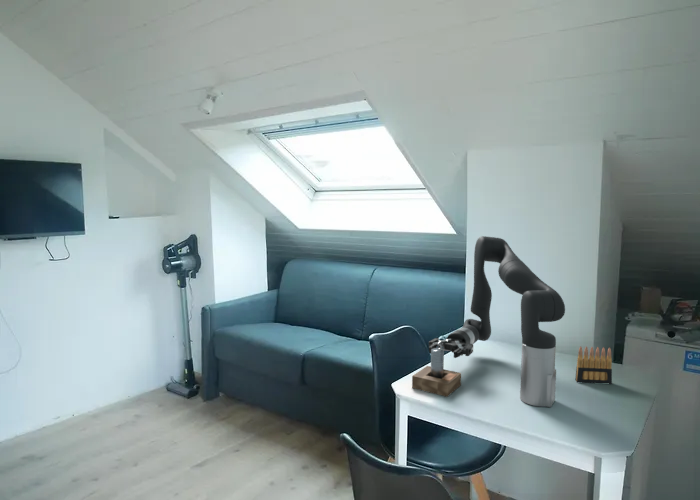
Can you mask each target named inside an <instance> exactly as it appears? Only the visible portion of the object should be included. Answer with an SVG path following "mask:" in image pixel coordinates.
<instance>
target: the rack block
mask: <svg viewBox="0 0 700 500" xmlns="http://www.w3.org/2000/svg"><path fill="white" fill-rule="evenodd" d="M411 376H412V380H411V382H412V384H411V386H412V387H411V389H414V388H415V390H418V389H419V391H422V390H423V391H424V392H426V391H427V392H426V393H431V394H434V395H439V396H443V397H447V398H448V397H450V395H451V394H453V392H455V391H456V390H457V389H459V387H461V386H462V372H458V371H454V370H449V369H444V370H443V378H442V379H439V378H435V377H431V365H430V366H429V365H426V366H425V367H423V368H421V369H420V370H419V371H417V372H416V373H415V374H412V375H411ZM423 391H422V392H423Z"/></svg>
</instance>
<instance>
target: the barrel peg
mask: <svg viewBox="0 0 700 500" xmlns="http://www.w3.org/2000/svg"><path fill="white" fill-rule="evenodd" d="M444 355H445V351H444V350H443V349H439V348H438V347H436V348H434V349H431V353H430V366H431V377H435V378H439V379H442V378H443V370H444V365H445V364H444V363H445V362H444V359H445V356H444Z"/></svg>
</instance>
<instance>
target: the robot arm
mask: <svg viewBox="0 0 700 500" xmlns="http://www.w3.org/2000/svg"><path fill="white" fill-rule="evenodd" d="M473 254H474V255H473V257H474V258H473V291H472V297H471V304H470V305H471V306H470V312H471V313H472V314H473V315H475V316H476V317H478V318H479V319H480V320H479V319H478V320H477V319H473V318H467V319H466V320H465V321H463V322H464V323H463V325H462V327H461V328H458V329H456V330H454V331H453V332H450V334H448V335H447V337H446V339H442V340H440V338H439V337H435V338H433V339H431V340H429V341H428V352H429V354H431V349H434V348H439V349H443V350H444V352H445V351H447V352H451V353H453V359H456V358H459V357H461V356H464V355H465V357H469V356H471V354H473V353H474V344H475V343H476V342H477V341H478V340H479V341H482V342H486V341H488V340H489V339H490V337H491V335H492V325H491V318H490V317H491V316H490V309H491V303H492V299H493V295H492V294H493V293H492V288H491V286H490V283H489V281H488V279H487V276H486V273H485V262H491V263H498V264H499V267H498V270H497V271H498V276H499V278H500V280H501V281H502V282H503V284H504V285H505V286H506V287H507V288H509V289H510V290H511V291H513V292H515V293H517V294H519V295H521V299H520V322H521V323H520V330H521V331H520V333H521V337H522V338H521V358H520V359H521V361H520V363H521V364H520V365H521V366H520V391H519V394H520V395H519V398H520V401H522V402H524V403H525V404H528V405H530V406H534V407H547V408H552V406H553V404H554V402H555V401H556V385H557V369H556V368H555V366H556V350H557V349H556V347H557V346H556V344H557V339H556V336H555V335H554V334H552V333H550V332H548V331H545V330H541V329H540V327H539V325H540V323H550V322H551V323H552V322H556V321H557V322H558V321H560V320H561V319H562V318H563V317H564V316H565V313H566V305H565V301H564V300H563V298H562V296H561V295H560V293H559V292H557V290H555V289H554V288H553V287H551V286H550V285H548V284H547V283H545V281H543V280H542V279H541V278H540V277H538V276H537V274H536V273H534V272H533V271H532V270H531V269H530V267H528V265H526V263H524V262H523V260H521V259H520V258H519V256H517V255H516V253H515V252H514V250H512V248H511V247H510V245H509V244H508V242H507V241H506V240H505V239H503V238H501V237H496V236H494V237H493V236H483V235H481V236H479V237H478V238H477V239H476V242H475V246H474V253H473Z"/></svg>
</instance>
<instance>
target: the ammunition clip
mask: <svg viewBox="0 0 700 500" xmlns="http://www.w3.org/2000/svg"><path fill="white" fill-rule="evenodd" d="M600 352H601V354H600ZM577 356H578V357H577V360H576V361H577V362H576V369H575V380H574V381H575V382H576V383H578V382H582V383H581V384H595V383H609V384H608V385H613V369H612V366H613V365H612V361H613V360H612V349H611V347H608V349H607V354H606V349H605V347H604V346H603V347H602V349H601V351H600V348H599V347H598V346H597V347H596V350H595V352H594V347H593V346H591V347H590V351H589V349H588V346H585V348H584V352H583V347H582V346H579V348H578V355H577Z"/></svg>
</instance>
